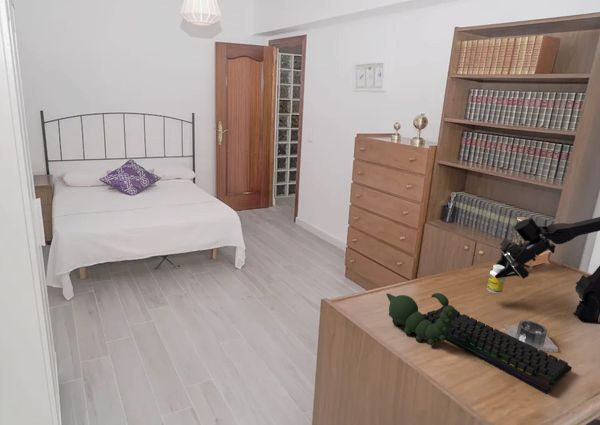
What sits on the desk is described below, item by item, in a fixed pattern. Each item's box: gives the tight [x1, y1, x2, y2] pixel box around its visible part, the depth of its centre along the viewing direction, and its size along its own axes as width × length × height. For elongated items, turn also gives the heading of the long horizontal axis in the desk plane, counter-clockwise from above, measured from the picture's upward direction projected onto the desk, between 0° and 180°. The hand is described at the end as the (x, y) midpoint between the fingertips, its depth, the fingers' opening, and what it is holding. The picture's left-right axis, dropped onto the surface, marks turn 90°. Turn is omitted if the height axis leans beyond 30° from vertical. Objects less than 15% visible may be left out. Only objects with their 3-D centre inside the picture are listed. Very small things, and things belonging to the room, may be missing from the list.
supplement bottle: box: [486, 264, 506, 294], centre depth 159 cm, size 5×5×10 cm
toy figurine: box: [386, 292, 458, 346], centre depth 139 cm, size 9×19×25 cm
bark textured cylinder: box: [510, 216, 530, 266], centre depth 192 cm, size 7×7×25 cm
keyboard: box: [422, 305, 573, 395], centre depth 135 cm, size 42×16×5 cm, turn 40°
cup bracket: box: [504, 320, 559, 353], centre depth 141 cm, size 12×12×5 cm
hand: (493, 273), depth 159 cm, fingers closed on supplement bottle, 5 cm apart
